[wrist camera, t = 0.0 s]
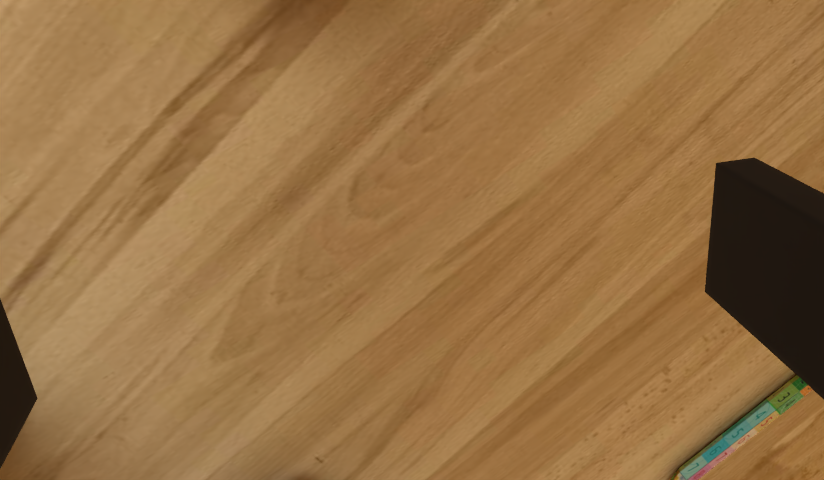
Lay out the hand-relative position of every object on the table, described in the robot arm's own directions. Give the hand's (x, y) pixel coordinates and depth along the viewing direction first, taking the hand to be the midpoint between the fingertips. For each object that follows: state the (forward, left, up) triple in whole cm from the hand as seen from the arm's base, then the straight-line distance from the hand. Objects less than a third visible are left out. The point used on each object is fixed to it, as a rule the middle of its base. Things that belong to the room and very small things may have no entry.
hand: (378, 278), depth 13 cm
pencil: (-1, +32, -20) cm, 38 cm away
